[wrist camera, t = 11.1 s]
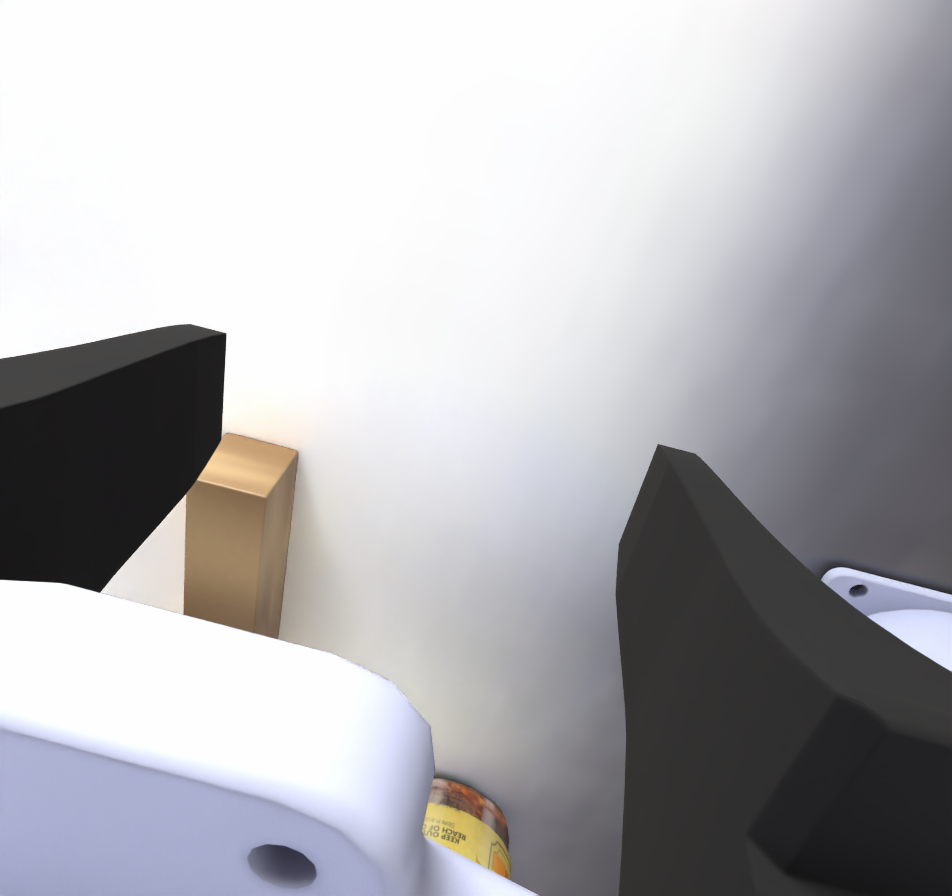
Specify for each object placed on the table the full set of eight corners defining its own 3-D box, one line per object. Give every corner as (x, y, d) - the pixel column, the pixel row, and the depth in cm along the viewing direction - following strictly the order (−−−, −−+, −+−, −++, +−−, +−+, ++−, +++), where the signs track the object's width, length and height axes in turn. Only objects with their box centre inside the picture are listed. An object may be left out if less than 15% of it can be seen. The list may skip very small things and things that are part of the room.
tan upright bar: (296, 833, 34) (273, 894, 32) (168, 798, 34) (135, 858, 32) (353, 464, 24) (326, 512, 22) (172, 417, 24) (125, 460, 22)
